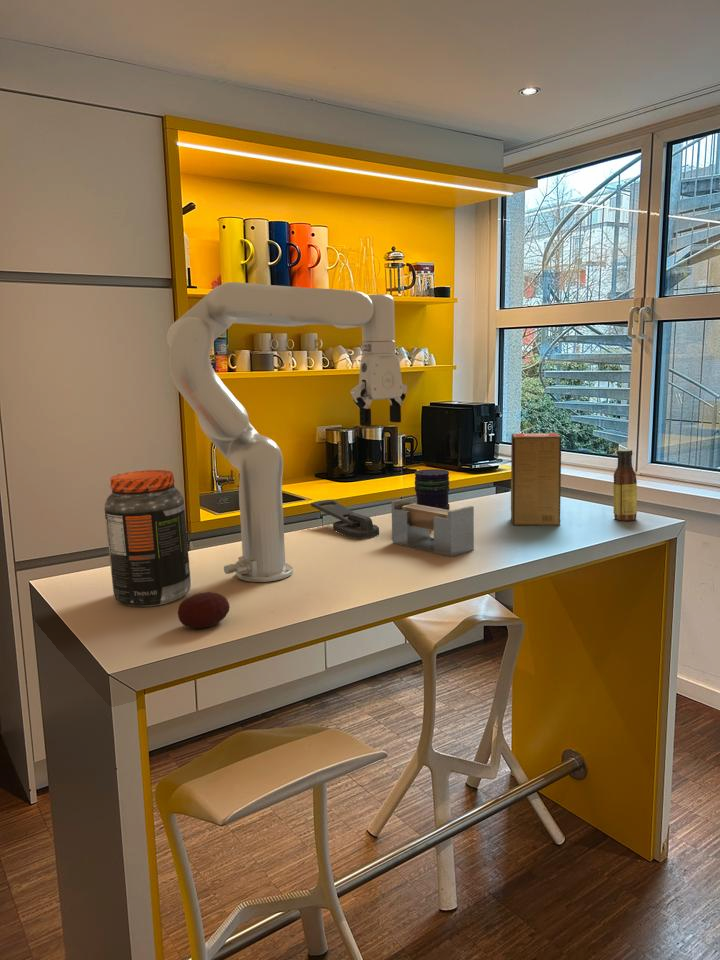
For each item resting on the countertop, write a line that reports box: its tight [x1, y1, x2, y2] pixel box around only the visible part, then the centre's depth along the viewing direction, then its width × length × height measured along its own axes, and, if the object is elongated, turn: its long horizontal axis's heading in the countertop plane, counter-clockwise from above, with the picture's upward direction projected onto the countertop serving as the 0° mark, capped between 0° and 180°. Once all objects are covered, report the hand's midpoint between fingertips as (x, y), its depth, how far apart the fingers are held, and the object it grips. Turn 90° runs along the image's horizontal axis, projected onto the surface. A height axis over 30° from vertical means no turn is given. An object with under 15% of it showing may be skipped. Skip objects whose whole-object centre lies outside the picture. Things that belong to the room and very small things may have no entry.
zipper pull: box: [310, 499, 380, 540], centre depth 207 cm, size 9×7×25 cm
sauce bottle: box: [612, 448, 638, 522], centre depth 208 cm, size 6×6×20 cm
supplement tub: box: [104, 469, 192, 607], centre depth 152 cm, size 16×16×26 cm
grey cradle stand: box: [390, 495, 475, 558], centre depth 186 cm, size 8×20×11 cm, turn 42°
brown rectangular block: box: [402, 503, 452, 531], centre depth 185 cm, size 5×16×5 cm, turn 42°
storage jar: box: [414, 468, 451, 510], centre depth 210 cm, size 10×10×15 cm
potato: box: [177, 591, 231, 629], centre depth 136 cm, size 7×10×6 cm
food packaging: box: [510, 432, 562, 527], centre depth 207 cm, size 13×9×25 cm
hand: (380, 423), depth 173 cm, fingers open, 9 cm apart
